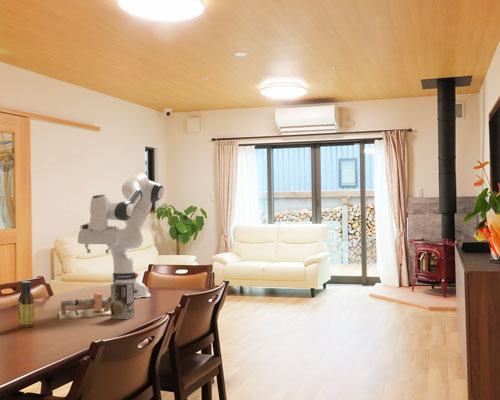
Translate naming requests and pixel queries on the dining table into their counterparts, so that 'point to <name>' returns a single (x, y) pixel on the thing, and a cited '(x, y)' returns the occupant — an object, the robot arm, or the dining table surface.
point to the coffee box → (122, 300)
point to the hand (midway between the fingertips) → (98, 253)
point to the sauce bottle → (25, 306)
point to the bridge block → (98, 301)
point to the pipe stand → (83, 313)
